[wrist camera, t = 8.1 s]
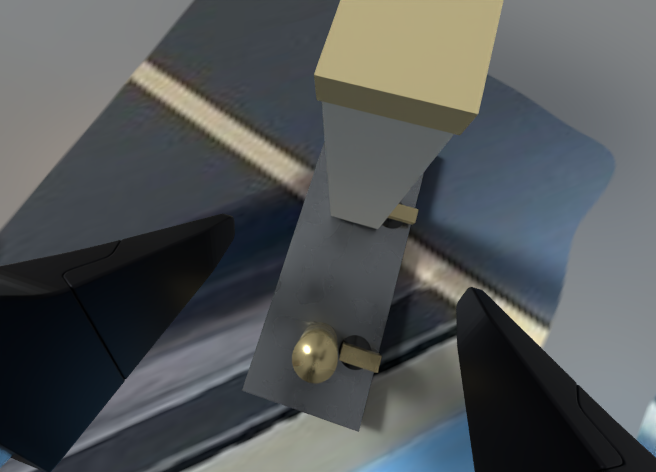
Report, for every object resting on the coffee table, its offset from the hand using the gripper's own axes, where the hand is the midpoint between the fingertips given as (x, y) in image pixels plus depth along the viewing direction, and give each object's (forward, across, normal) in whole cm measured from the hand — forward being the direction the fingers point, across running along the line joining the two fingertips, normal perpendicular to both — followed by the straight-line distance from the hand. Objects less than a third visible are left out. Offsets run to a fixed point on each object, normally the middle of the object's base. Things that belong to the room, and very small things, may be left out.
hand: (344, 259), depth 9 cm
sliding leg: (+10, -1, +2) cm, 10 cm away
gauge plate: (+8, 0, +6) cm, 10 cm away
